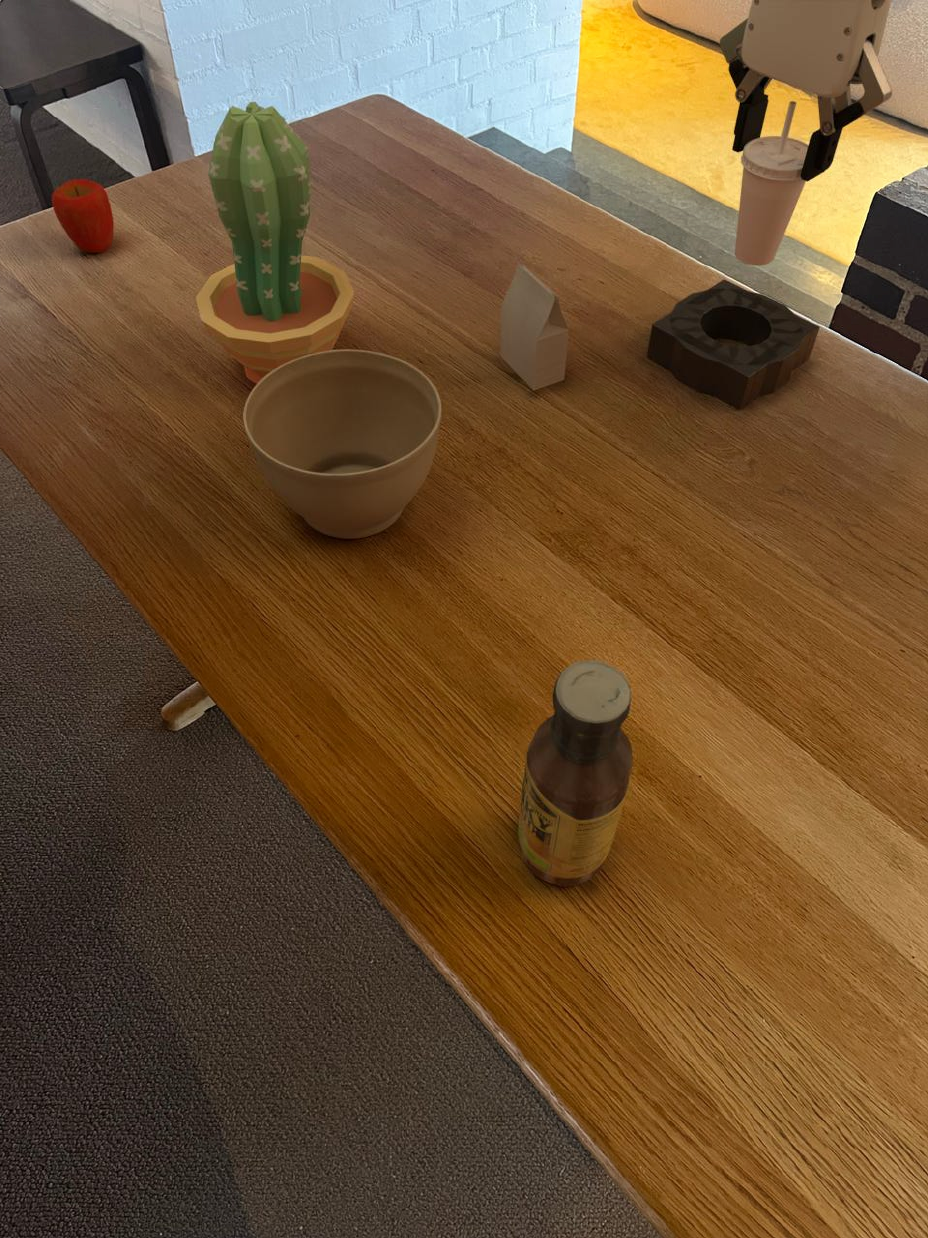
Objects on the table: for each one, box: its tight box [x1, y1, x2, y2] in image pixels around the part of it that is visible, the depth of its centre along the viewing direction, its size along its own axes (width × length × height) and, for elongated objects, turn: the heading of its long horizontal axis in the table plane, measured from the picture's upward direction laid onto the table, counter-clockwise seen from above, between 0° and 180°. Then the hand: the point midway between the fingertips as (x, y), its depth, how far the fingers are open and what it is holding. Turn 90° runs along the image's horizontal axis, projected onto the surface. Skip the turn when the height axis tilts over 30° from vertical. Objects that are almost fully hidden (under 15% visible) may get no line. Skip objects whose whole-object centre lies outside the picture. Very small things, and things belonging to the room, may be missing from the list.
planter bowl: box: [242, 348, 443, 540], centre depth 82 cm, size 16×16×11 cm
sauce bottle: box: [517, 659, 634, 888], centre depth 58 cm, size 6×6×20 cm
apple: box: [51, 178, 115, 254], centre depth 111 cm, size 6×6×8 cm
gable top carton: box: [499, 263, 570, 392], centre depth 95 cm, size 4×7×10 cm, turn 29°
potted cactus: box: [195, 101, 355, 385], centre depth 90 cm, size 15×15×25 cm
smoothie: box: [734, 100, 809, 267], centre depth 85 cm, size 6×6×14 cm
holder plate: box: [646, 278, 821, 411], centre depth 99 cm, size 13×13×4 cm
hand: (778, 158), depth 84 cm, fingers closed on smoothie, 6 cm apart
